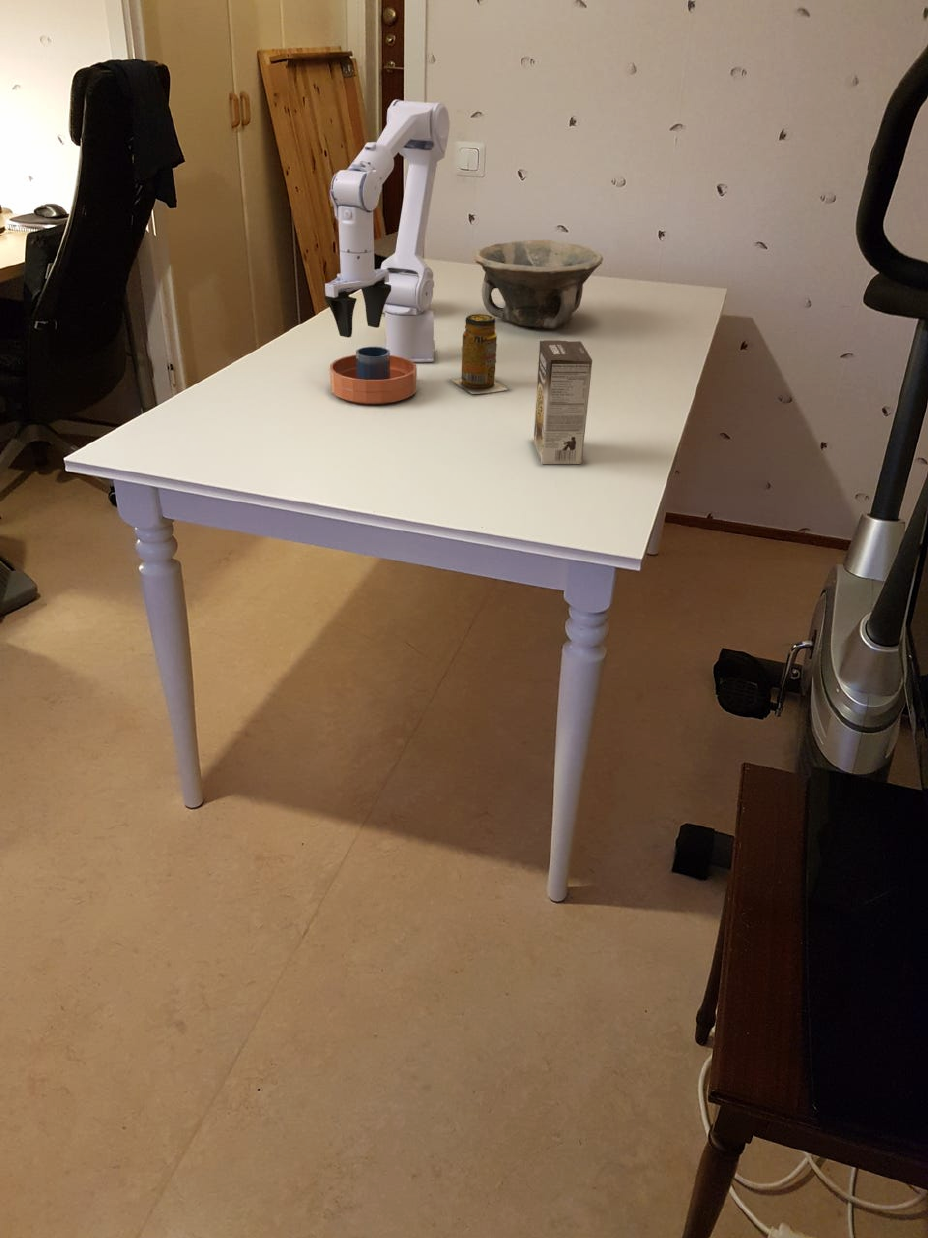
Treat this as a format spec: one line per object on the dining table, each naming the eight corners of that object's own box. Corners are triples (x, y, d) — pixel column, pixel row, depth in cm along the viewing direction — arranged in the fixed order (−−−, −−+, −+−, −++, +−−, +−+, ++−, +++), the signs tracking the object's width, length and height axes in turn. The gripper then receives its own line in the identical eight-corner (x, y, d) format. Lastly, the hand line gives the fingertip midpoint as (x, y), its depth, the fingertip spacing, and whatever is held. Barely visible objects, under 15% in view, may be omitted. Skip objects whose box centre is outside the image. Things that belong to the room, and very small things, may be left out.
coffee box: (531, 441, 149) (538, 339, 140) (571, 441, 149) (581, 339, 140) (540, 465, 141) (548, 358, 132) (582, 464, 141) (593, 358, 133)
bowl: (453, 330, 199) (455, 256, 191) (497, 301, 220) (500, 233, 212) (575, 347, 191) (582, 271, 183) (608, 316, 212) (616, 246, 204)
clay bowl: (414, 377, 173) (414, 353, 170) (418, 406, 160) (418, 380, 158) (332, 377, 172) (331, 353, 169) (329, 406, 159) (328, 380, 157)
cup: (390, 382, 168) (389, 346, 165) (390, 393, 164) (390, 356, 160) (357, 382, 168) (356, 346, 164) (357, 393, 163) (355, 356, 160)
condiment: (486, 376, 175) (489, 310, 168) (508, 390, 168) (511, 322, 162) (451, 380, 172) (452, 314, 165) (471, 395, 166) (473, 327, 159)
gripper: (366, 239, 164) (368, 318, 171) (309, 252, 154) (314, 336, 161) (398, 245, 161) (399, 325, 168) (342, 259, 151) (345, 344, 158)
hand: (359, 331), depth 164 cm, fingers open, 7 cm apart
